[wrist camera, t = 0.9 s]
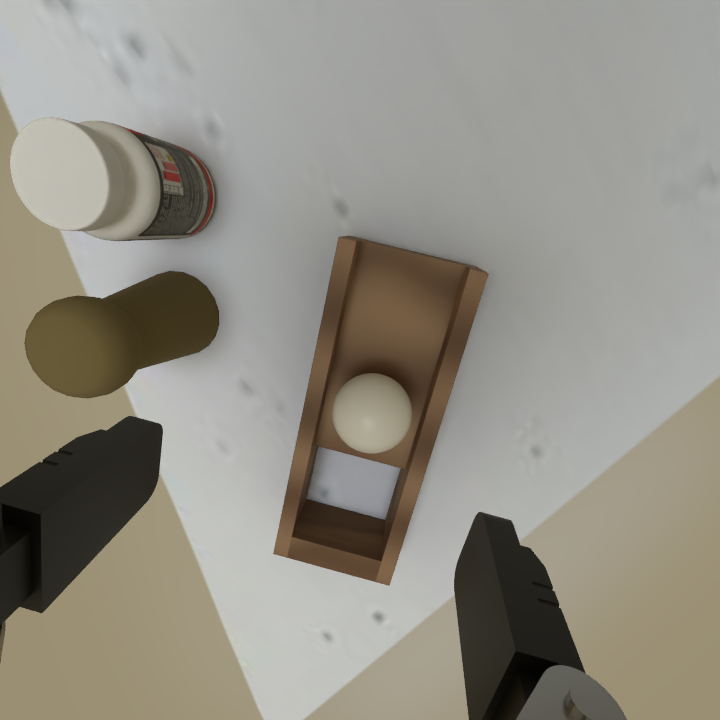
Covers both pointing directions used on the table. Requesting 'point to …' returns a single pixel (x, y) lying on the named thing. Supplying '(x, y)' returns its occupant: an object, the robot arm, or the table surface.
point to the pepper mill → (120, 333)
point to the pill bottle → (110, 181)
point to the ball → (372, 413)
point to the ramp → (387, 357)
